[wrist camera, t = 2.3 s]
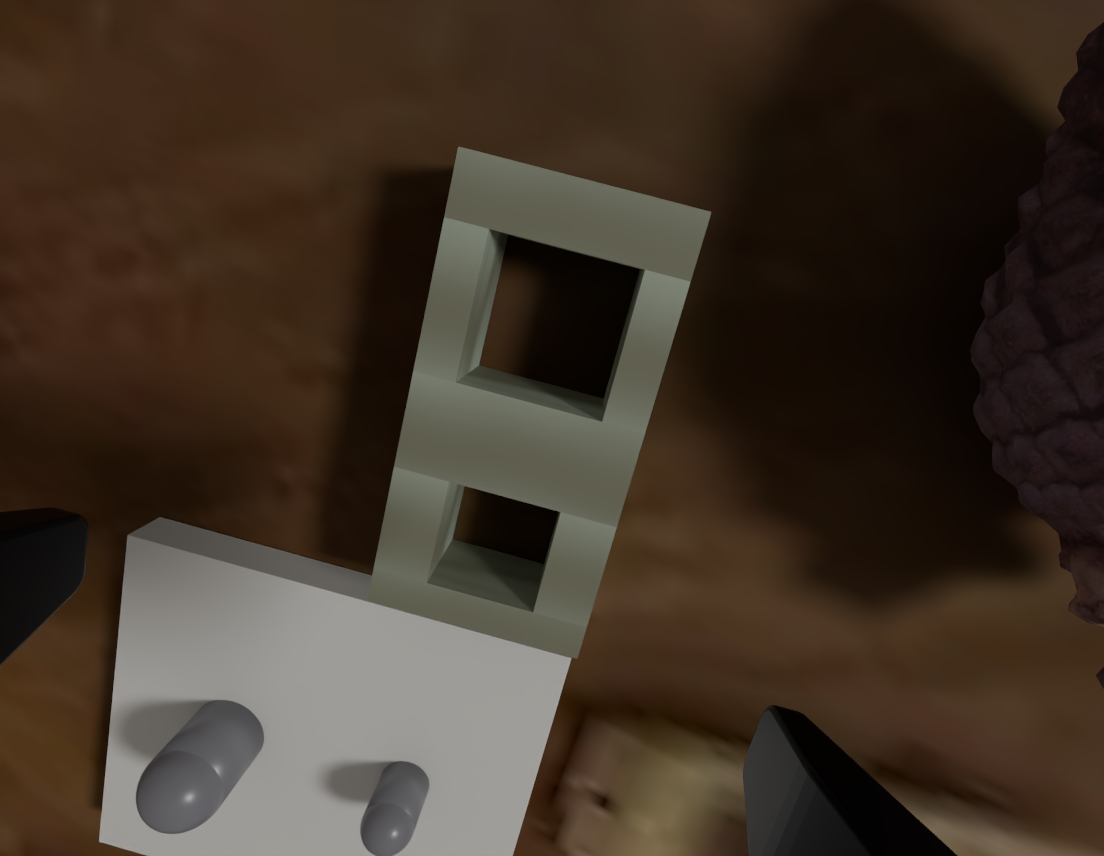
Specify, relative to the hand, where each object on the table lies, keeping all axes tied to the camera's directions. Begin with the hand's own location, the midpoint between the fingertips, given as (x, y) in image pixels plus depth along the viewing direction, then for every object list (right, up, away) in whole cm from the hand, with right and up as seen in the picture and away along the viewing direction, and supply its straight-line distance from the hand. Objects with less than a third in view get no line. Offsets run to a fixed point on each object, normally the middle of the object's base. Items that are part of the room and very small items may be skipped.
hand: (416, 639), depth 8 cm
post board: (-6, -8, +14) cm, 17 cm away
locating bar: (+1, +4, +11) cm, 12 cm away
